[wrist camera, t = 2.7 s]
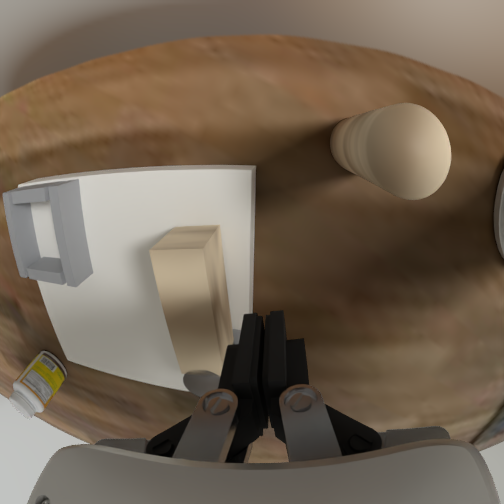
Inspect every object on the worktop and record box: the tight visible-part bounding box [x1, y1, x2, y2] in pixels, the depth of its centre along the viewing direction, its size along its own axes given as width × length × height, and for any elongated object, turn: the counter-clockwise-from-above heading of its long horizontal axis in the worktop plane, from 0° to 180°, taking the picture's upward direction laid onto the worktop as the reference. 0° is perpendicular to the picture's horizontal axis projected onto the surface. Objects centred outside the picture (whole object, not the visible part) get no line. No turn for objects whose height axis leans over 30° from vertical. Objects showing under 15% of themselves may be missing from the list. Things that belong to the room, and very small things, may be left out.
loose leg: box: [330, 103, 451, 200], centre depth 14 cm, size 4×4×9 cm
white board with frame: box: [3, 165, 256, 392], centre depth 21 cm, size 21×20×6 cm
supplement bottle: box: [9, 351, 67, 419], centre depth 27 cm, size 6×6×10 cm
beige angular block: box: [149, 225, 234, 397], centre depth 18 cm, size 12×3×4 cm, turn 4°
